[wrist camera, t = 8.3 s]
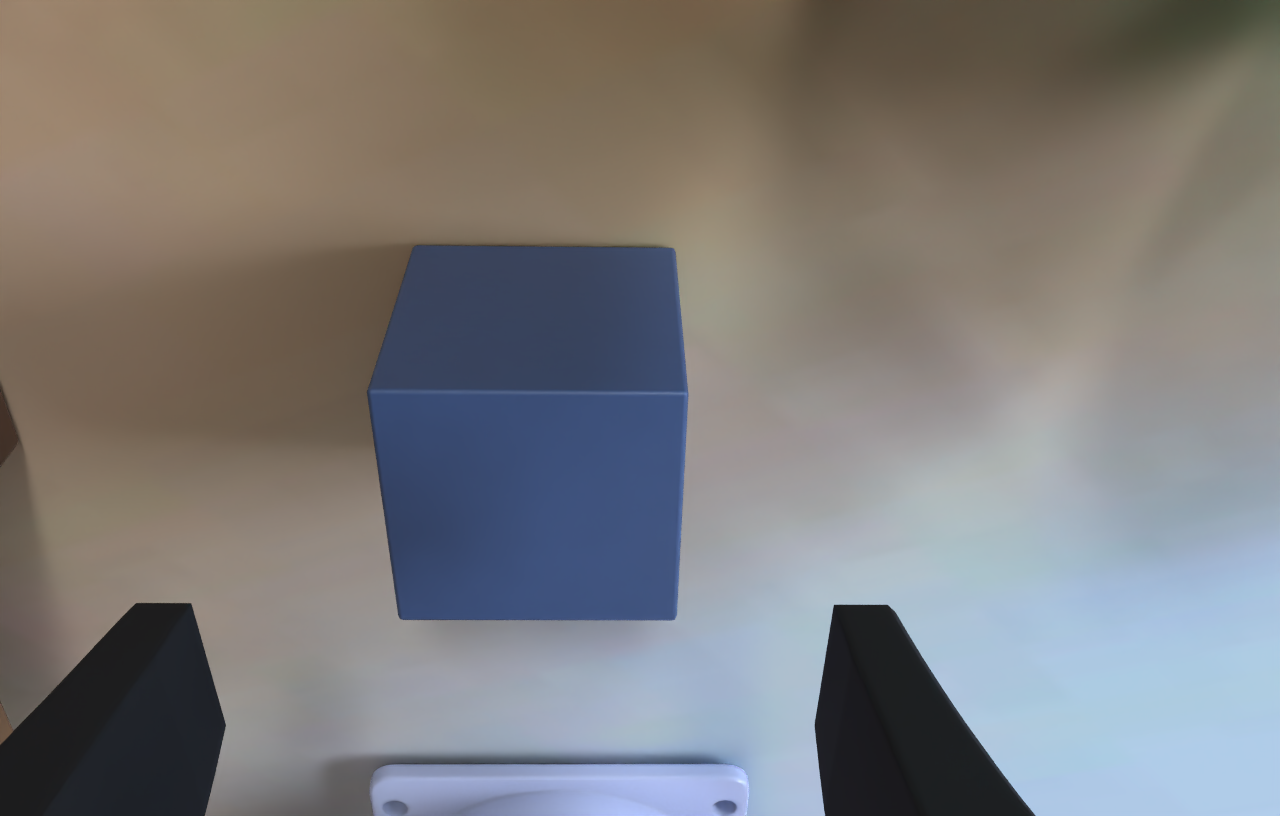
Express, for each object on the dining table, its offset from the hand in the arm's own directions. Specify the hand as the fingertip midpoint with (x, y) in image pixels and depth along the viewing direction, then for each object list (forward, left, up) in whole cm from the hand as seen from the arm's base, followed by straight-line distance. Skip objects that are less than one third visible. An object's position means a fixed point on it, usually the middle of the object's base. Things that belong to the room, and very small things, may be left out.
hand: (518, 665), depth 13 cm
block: (0, 0, -7) cm, 7 cm away
